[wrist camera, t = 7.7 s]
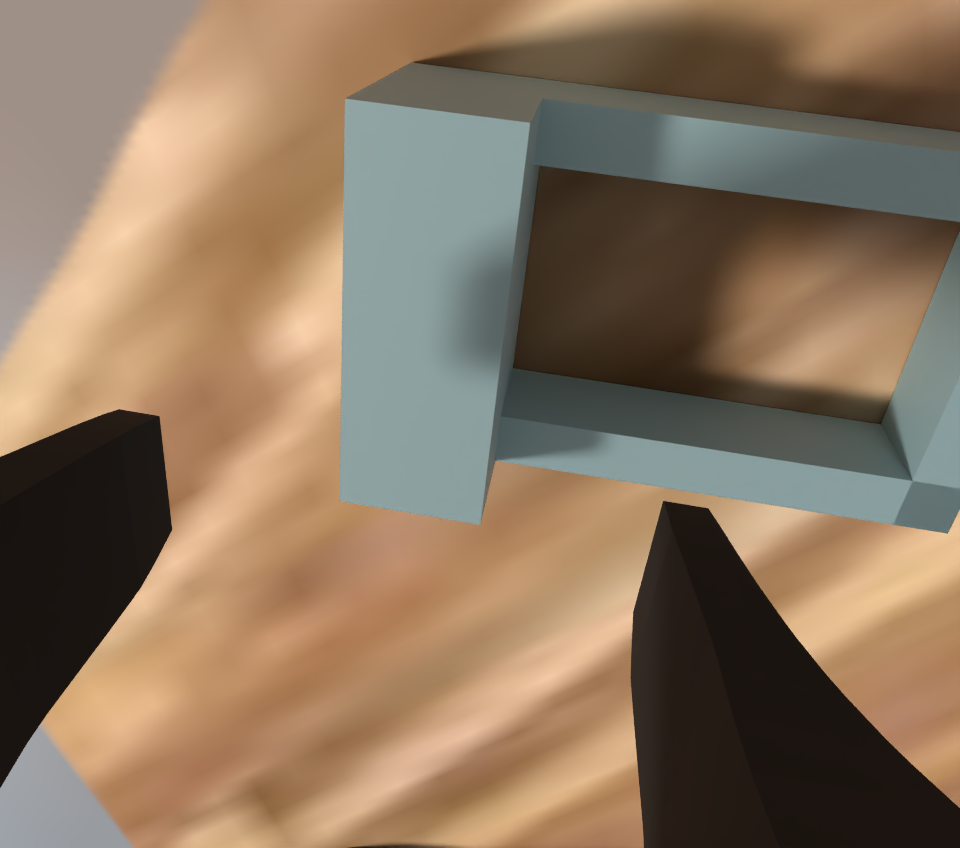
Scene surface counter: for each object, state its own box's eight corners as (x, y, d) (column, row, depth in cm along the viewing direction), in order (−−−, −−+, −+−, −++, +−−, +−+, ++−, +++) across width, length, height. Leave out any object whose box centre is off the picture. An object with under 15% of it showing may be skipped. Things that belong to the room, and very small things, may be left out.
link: (1059, 144, 16) (1215, 212, 12) (912, 472, 21) (991, 609, 16) (411, 62, 17) (345, 98, 13) (394, 391, 22) (339, 501, 17)
